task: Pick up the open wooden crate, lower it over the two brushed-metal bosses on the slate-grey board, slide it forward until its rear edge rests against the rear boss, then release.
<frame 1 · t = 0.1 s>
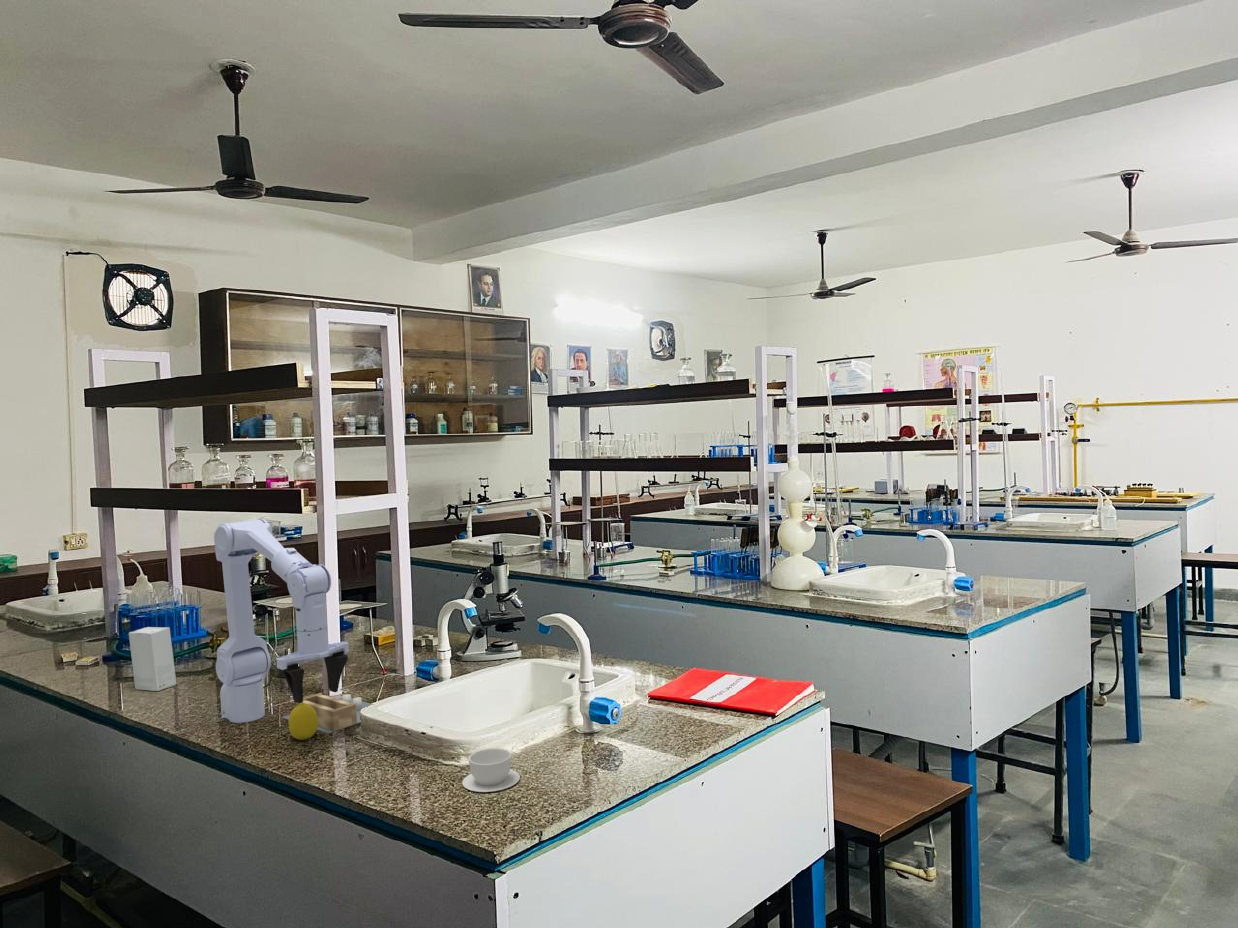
hand: (316, 696, 170), 10 cm above the counter, fingers open, 7 cm apart
open wooden crate: (326, 720, 183), point 1 cm above the counter, touching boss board
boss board: (338, 718, 187), on the counter
teacup: (491, 783, 151), on the counter
skincare box: (154, 688, 217), on the counter
lemon: (304, 743, 174), on the counter
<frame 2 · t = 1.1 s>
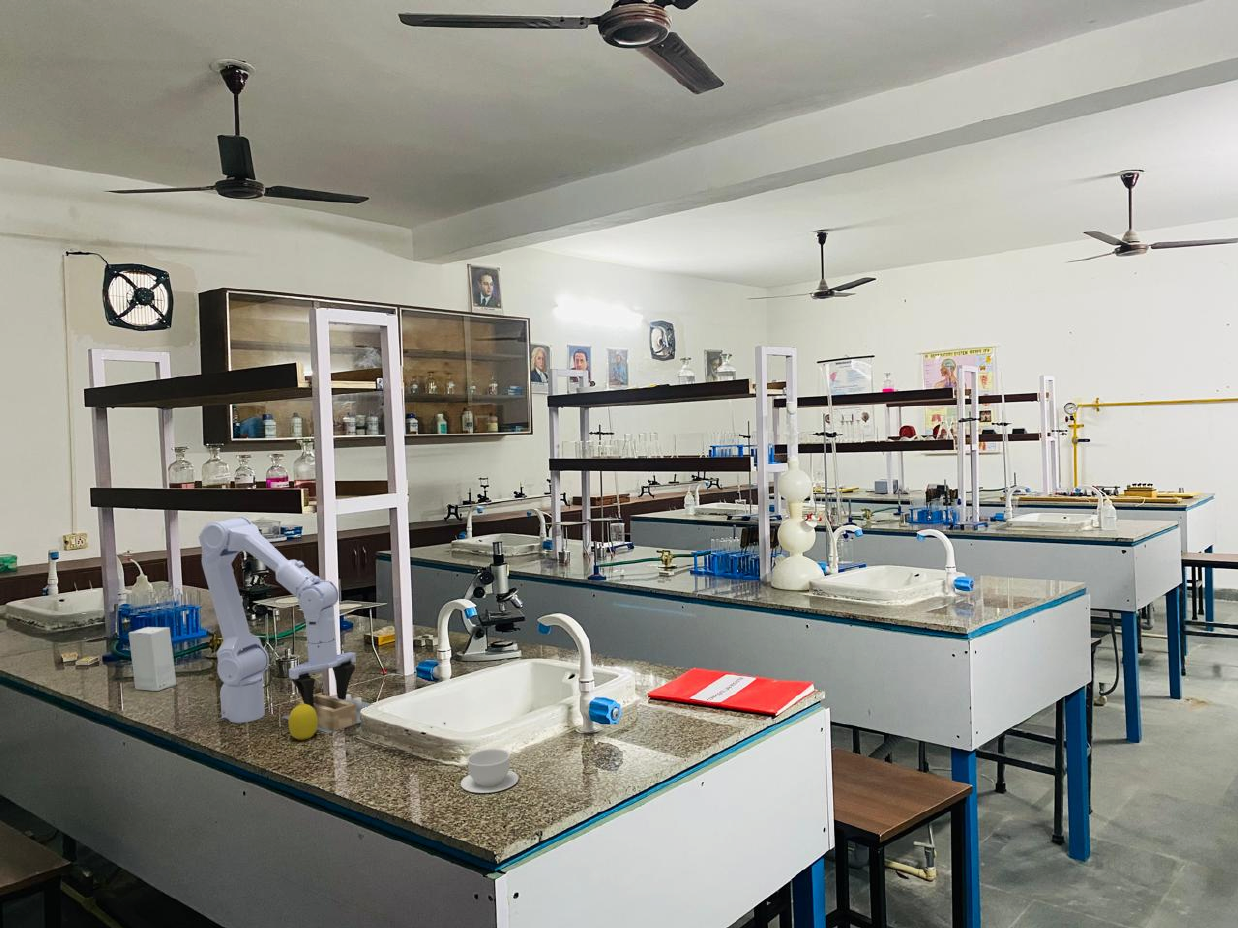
hand: (325, 703, 183), 5 cm above the counter, fingers open, 7 cm apart
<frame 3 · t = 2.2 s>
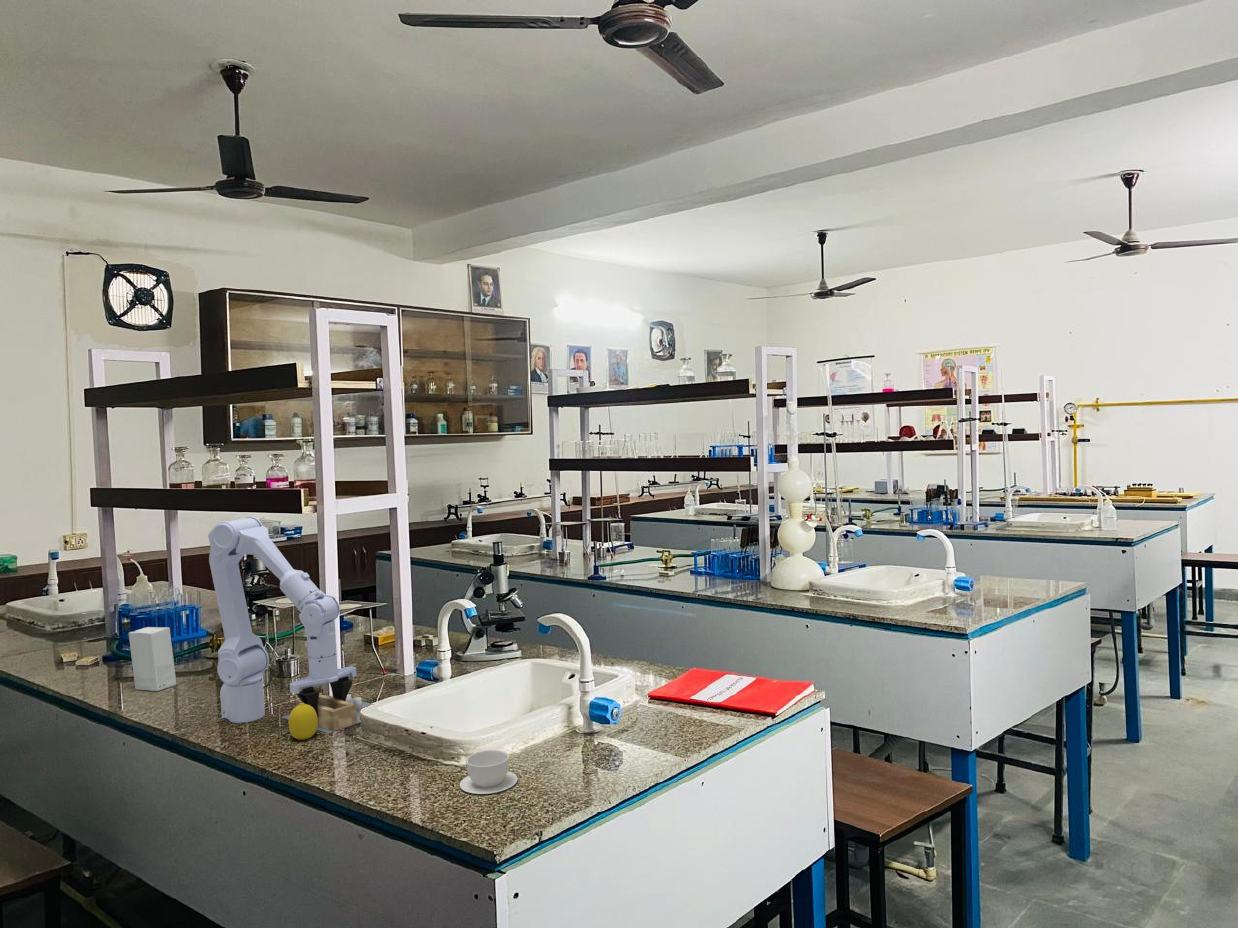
hand: (326, 718, 183), 2 cm above the counter, fingers closed on open wooden crate, 5 cm apart
open wooden crate: (326, 720, 183), point 1 cm above the counter, touching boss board, gripper
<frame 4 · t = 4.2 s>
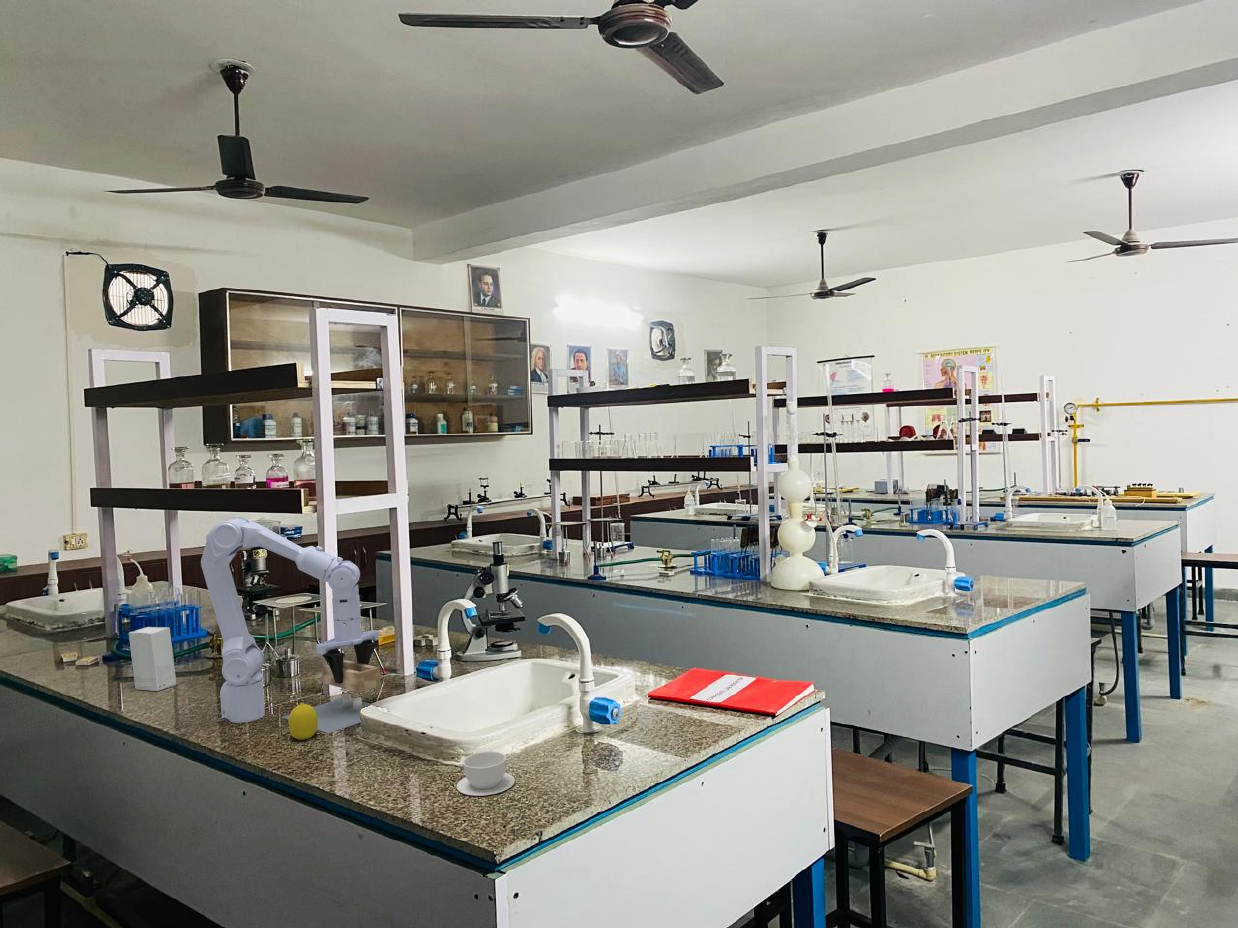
hand: (350, 678, 190), 8 cm above the counter, fingers closed on open wooden crate, 5 cm apart
open wooden crate: (351, 684, 190), point 6 cm above the counter, touching gripper
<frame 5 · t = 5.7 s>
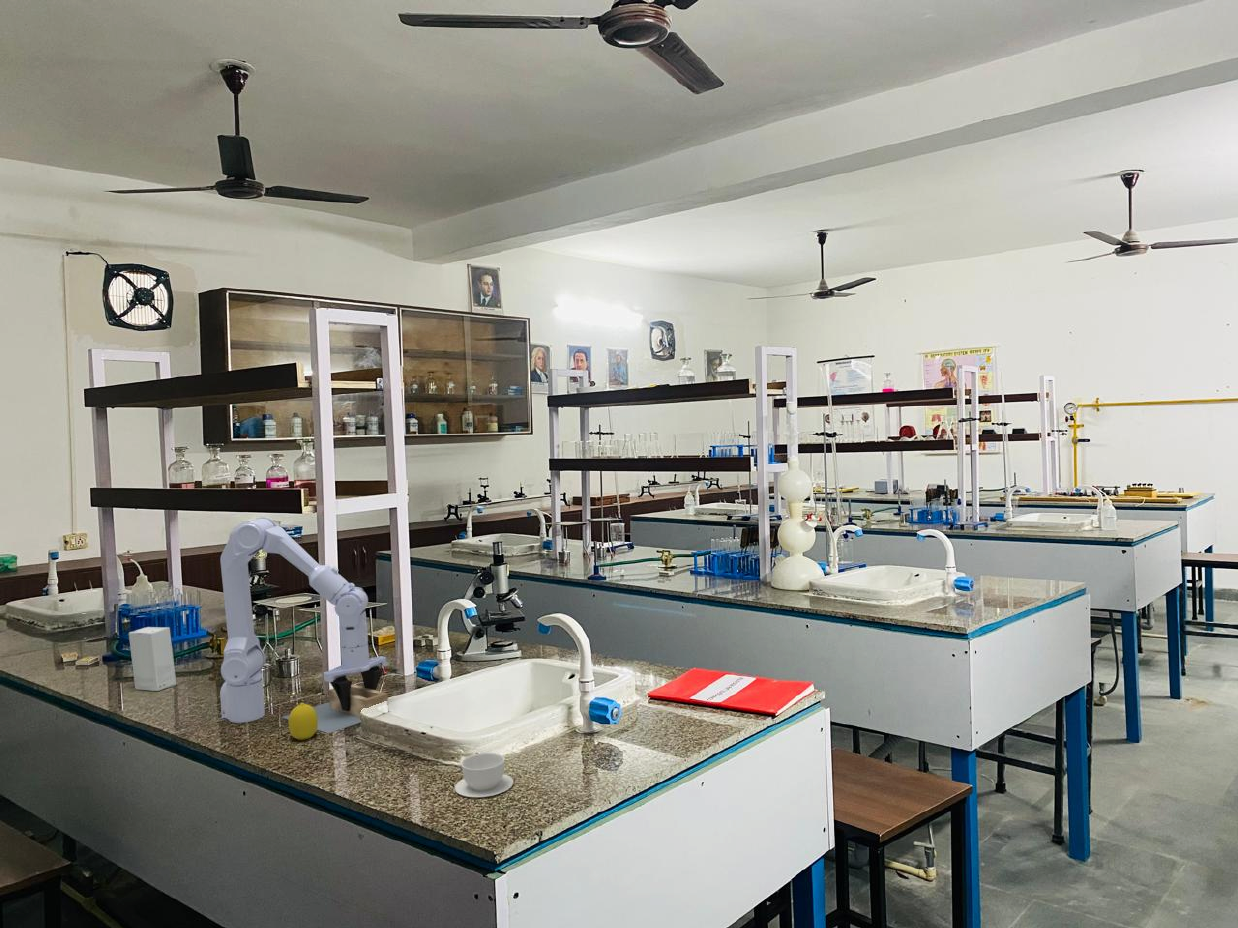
hand: (358, 706, 189), 2 cm above the counter, fingers closed on open wooden crate, 5 cm apart
open wooden crate: (358, 709, 189), point 1 cm above the counter, touching gripper
when the fingers open (2 cm above the counter, at t = 6.4 s): open wooden crate stays where it is, resting on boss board.
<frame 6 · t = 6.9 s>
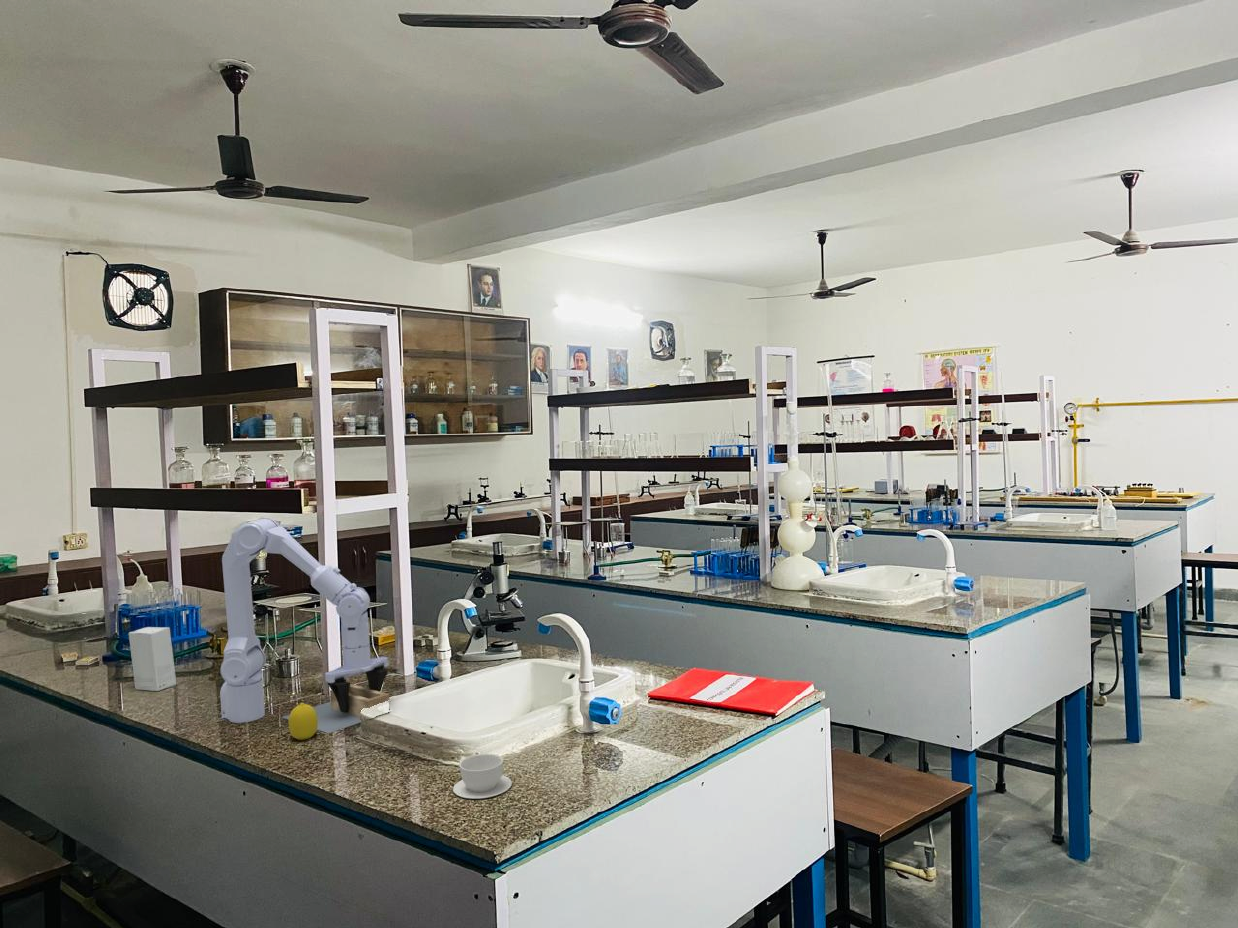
hand: (359, 706, 189), 2 cm above the counter, fingers open, 7 cm apart
open wooden crate: (360, 710, 189), point 1 cm above the counter, touching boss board
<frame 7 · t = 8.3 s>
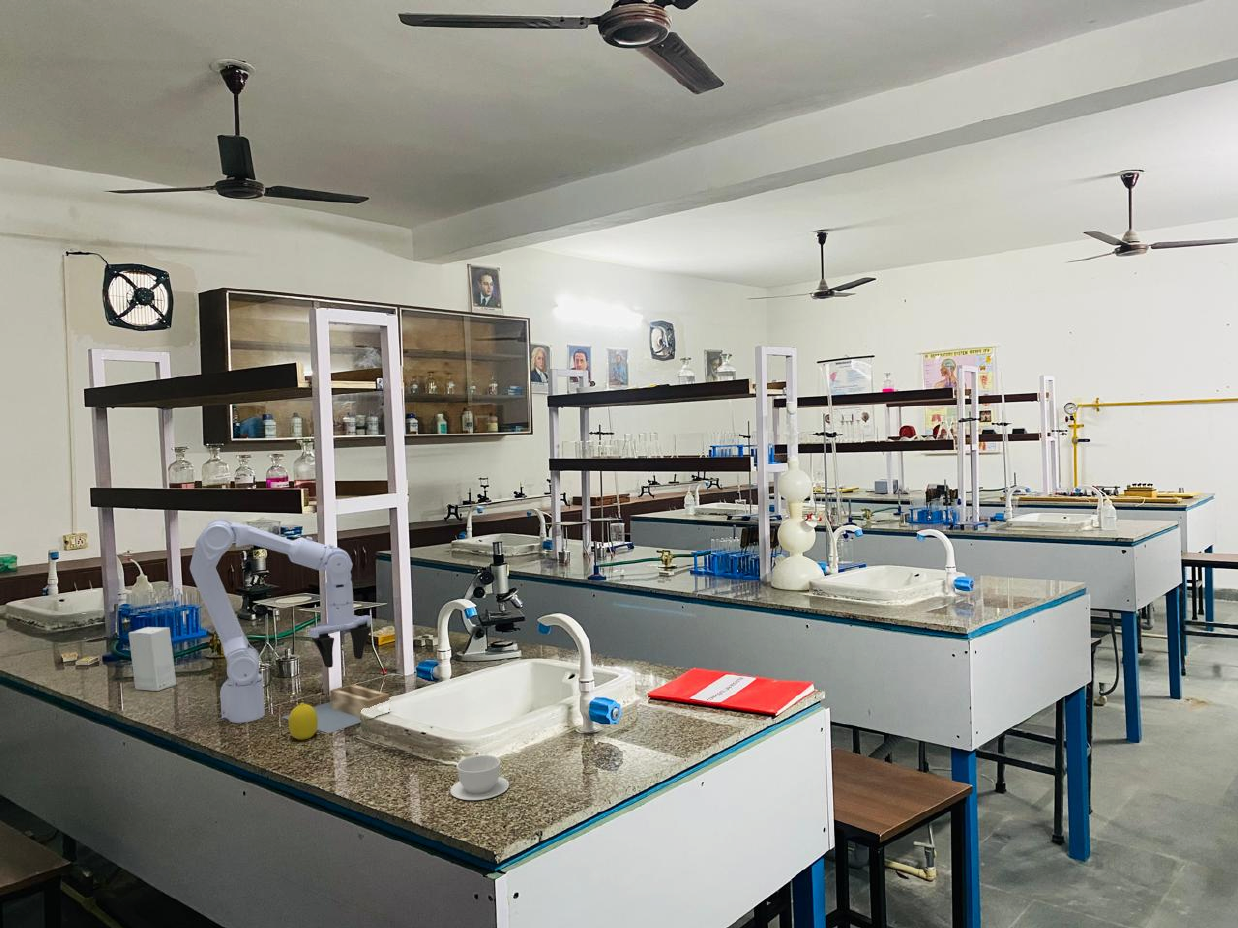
hand: (343, 662, 195), 10 cm above the counter, fingers open, 7 cm apart
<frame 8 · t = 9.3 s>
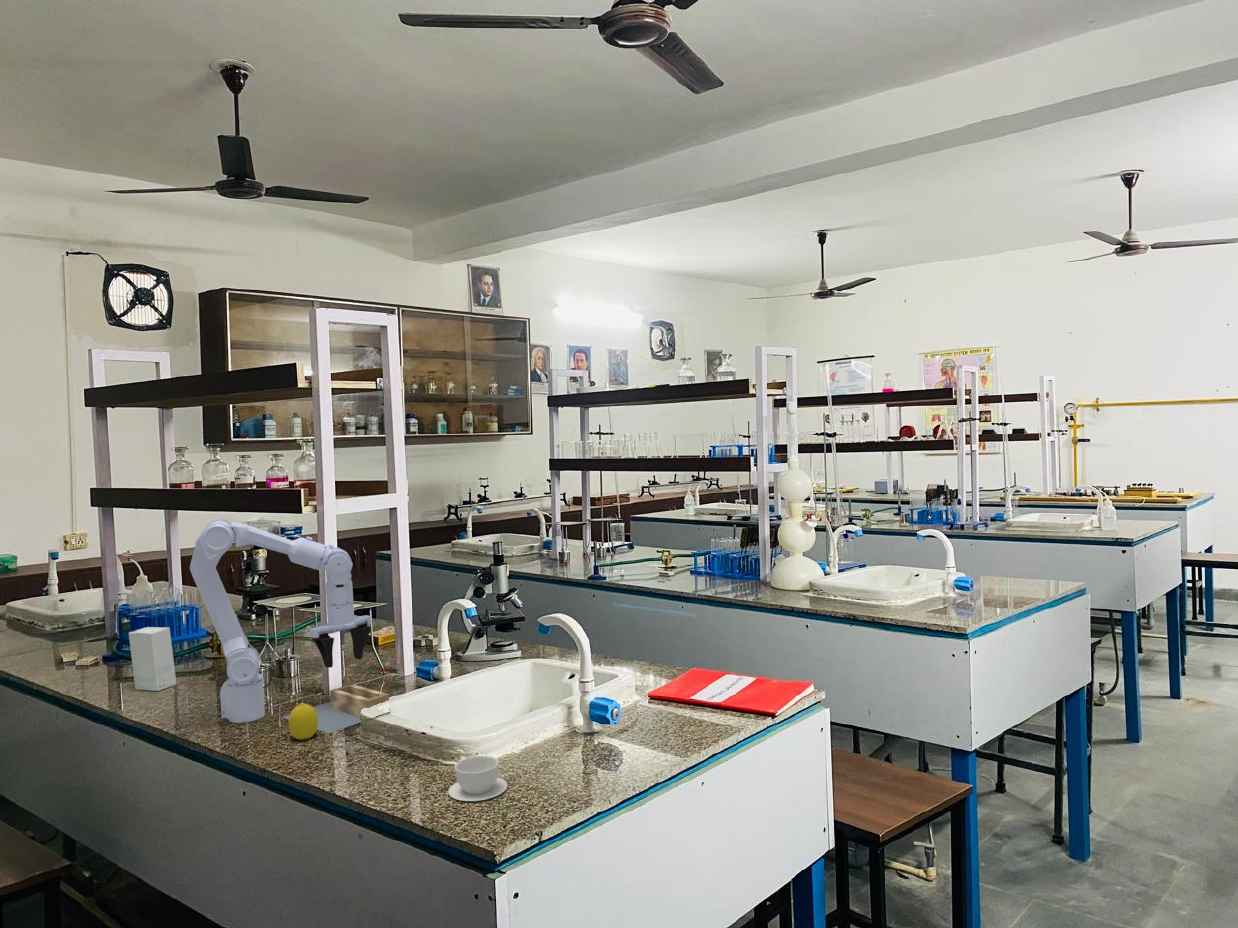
hand: (343, 662, 195), 10 cm above the counter, fingers open, 7 cm apart
at the end: open wooden crate 0.0 cm from the target spot, point 1.0 cm above the counter; open wooden crate tilted 0°; the gripper is holding nothing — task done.
